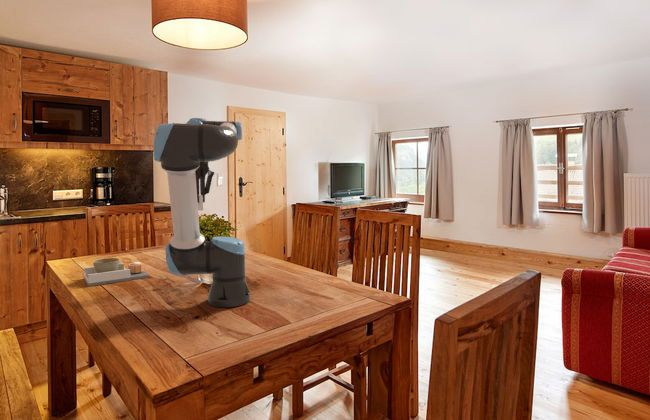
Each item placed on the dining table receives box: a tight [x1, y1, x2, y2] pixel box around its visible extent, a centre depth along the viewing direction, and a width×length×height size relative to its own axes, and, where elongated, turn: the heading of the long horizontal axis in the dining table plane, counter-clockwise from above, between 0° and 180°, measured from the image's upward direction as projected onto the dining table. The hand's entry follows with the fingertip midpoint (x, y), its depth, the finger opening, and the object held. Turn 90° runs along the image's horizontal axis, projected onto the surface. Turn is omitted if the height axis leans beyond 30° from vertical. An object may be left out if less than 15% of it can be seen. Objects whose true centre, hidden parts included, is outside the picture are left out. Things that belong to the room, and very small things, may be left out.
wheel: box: [127, 261, 145, 273], centre depth 181 cm, size 6×6×4 cm
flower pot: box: [92, 257, 120, 273], centre depth 174 cm, size 10×10×7 cm
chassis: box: [83, 262, 149, 287], centre depth 177 cm, size 14×23×5 cm, turn 127°
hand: (200, 210), depth 176 cm, fingers closed
